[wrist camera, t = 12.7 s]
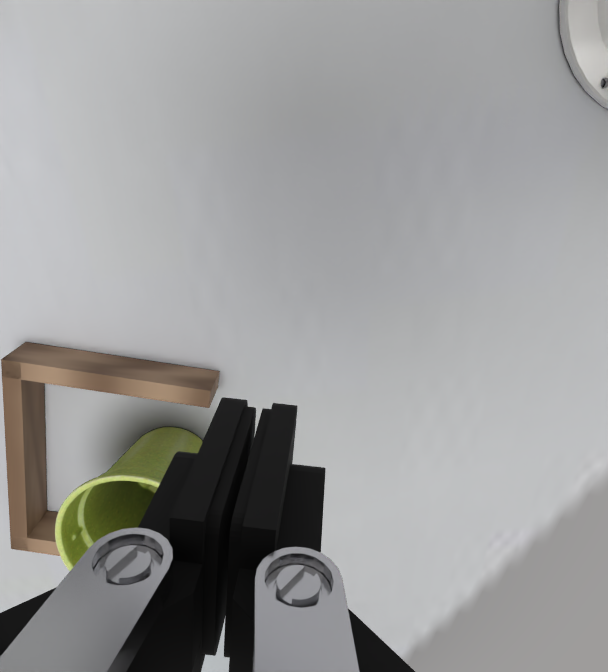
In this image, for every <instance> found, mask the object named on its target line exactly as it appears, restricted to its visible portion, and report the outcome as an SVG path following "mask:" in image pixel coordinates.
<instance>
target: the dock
mask: <svg viewBox="0 0 608 672" xmlns="http://www.w3.org/2000/svg"><path fill="white" fill-rule="evenodd" d="M1 364H2V383H3V402H4V421H5V441H6V460H7V479H8V498H9V517H10V536H11V549H16V550H23V551H30V552H37V553H44V554H50V555H57V556H60V553H59V551H58V548H57V545H56V539H55V524H56V518H57V515H58V512H52V511H47V482H46V438H45V393H44V383H47V384H54V385H61V386H67V387H74V388H81V389H87V390H94V391H100V392H107V393H114V394H120V395H127V396H134V397H140V398H147V399H154V400H160V401H167V402H174V403H180V404H187V405H194V406H200V407H207V408H209V407H210V405H211V402H212V400H213V398H214V395H215V393H216V390H217V388H218V382H219V372H220V371H214V370H207V369H201V368H194V367H188V366H181V365H174V364H168V363H161V362H155V361H148V360H141V359H135V358H128V357H121V356H115V355H108V354H102V353H95V352H88V351H82V350H75V349H69V348H62V347H55V346H49V345H42V344H35V343H29V342H25V343H24V344H22V345H21V346H19V347H18V348H17V349H15V350H14V351H12V352H11V353H10V354H8V355H7V356H5V357H4V358H3V359H1Z"/></svg>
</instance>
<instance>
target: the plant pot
mask: <svg viewBox="0 0 608 672" xmlns="http://www.w3.org/2000/svg"><path fill="white" fill-rule="evenodd" d="M201 445H202V440H201V439H200V438H199V437H198V436H196V435H195V434H193V433H191V432H189V431H187V430H184V429H181V428H175V427H162V428H158V429H155V430H153V431H151V432H149V433H147V434H145V435H143V436H142V437H141V438H140V439H139V440H138V441H137V442H136V443H135V444H134V445H133V446H132V447H131V448H130V449H129V450H128V451H127V452H126V453H125V454H124V455H123V456H122V457H121V458H120V459H119V460H118V461H117V462H116V463H115V464H114V465H113V466H112V467H111V468H110V469H109V470H108V471H107V472H106V473H104V474H102V475H100V476H99V477H97V478H94V479H92V480H89V481H87V482H85V483H84V484H82V485H81V486H79V487H78V488H76V489H75V490H74V491H73V492H72V493H71V494H70V495H69V496H68V497H67V498H66V500H65V501H64V502H63V504H62V506H61V507H60V510H59V512H58V515H57V518H56V524H55V539H56V545H57V548H58V551H59V553H60V556H61V558H62V560H63V562H64V564H65V565H66V567H67V568H68V569H69V571H71V569H72V568H73V567H74V566H75V565H76V563H77V562H78V561H79V560H80V558H81V557H82V556H83V555H84V554H85V552H86V551H87V550H88V549H89V548H90V547H91V546H92V545H93V544H94V543H95V542H96V541H97V540H98V539H100V538H102V537H104V536H105V535H107V534H109V533H112V532H115V531H118V530H121V529H128V528H138V526H139V524H140V522H141V520H142V518H143V516H144V514H145V512H146V510H147V508H148V506H149V504H150V502H151V500H152V498H153V496H154V494H155V492H156V490H157V488H158V486H159V484H160V482H161V480H162V479H163V477H164V475H165V473H166V471H167V469H168V467H169V465H170V463H171V461H172V459H173V457H174V455H175V454H176V452H178V451H181V452H190V453H198V452H199V449H200V447H201Z"/></svg>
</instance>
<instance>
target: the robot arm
mask: <svg viewBox="0 0 608 672" xmlns="http://www.w3.org/2000/svg"><path fill="white" fill-rule="evenodd" d="M559 17H560V34H561V39H562V43H563V48H564V53H565V56H566V58H567V60H568V63H569V65H570V67H571V70H572V72H573V74H574V76H575V77H576V79H577V80H578V81H579V83H580V84H581V86H582V87H583V88H584V90H585V91H586V92H587V93H588V94H589V95H590V96H591V97H592V98H593V99H595V100H596V101H597V102H598V103H599V104H600V105H601V106H603V107H605V108H607V109H608V0H560V3H559ZM602 78H603V79H605V81H606V84H605V86H604V87H603V88H601V80H602ZM296 417H297V406H295V405H286V404H277V403H273V405H272V409H263V410H262V413H261V416H260V420H259V423H258V427H257V431H256V434H255V418H256V408H254V407H248V404H247V400H241V399H232V398H222V399H221V401H220V403H219V406H218V408H217V410H216V413H215V415H214V417H213V419H212V422H211V424H210V426H209V429H208V431H207V433H206V435H205V438H204V440H203V442H202V445H201V447H200V449H199V452H198V453H190V452H181V451H178V452H176V454H175V455H174V457H173V459H172V461H171V463H170V465H169V467H168V469H167V471H166V473H165V475H164V477H163V479H162V480H161V482H160V484H159V486H158V488H157V490H156V492H155V494H154V496H153V498H152V500H151V502H150V504H149V506H148V508H147V510H146V512H145V514H144V516H143V518H142V520H141V522H140V524H139V526H138V528H128V529H121V530H118V531H115V532H112V533H109V534H107V535H105V536H104V537H102V538H100V539H98V540H97V541H96V542H95V543H94V544H93V545H92V546H91V547H90V548H89V549H88V550H87V551H86V552H85V554H84V555H83V556H82V557H81V558H80V560H79V561H78V562H77V563H76V565H75V566H74V567H73V568H72V569H71V571H70V572H69V573H68V574H67V576H66V577H65V578H64V579H63V580H62V582H61V583H60V584H59V585H58V587H56V588H54V589H52V590H50V591H48V592H46V593H43V594H41V595H39V596H37V597H35V598H32V599H30V600H28V601H26V602H24V603H21V604H19V605H17V606H15V607H13V608H11V609H8V610H6V611H4V612H2V613H0V672H201V669H202V665H203V661H204V657H205V654H206V655H214V656H215V655H216V652H217V648H218V644H219V640H220V636H221V631H222V627H223V623H224V619H225V615H226V619H225V641H224V657H230V662H229V672H415V671H414V670H413V669H412V668H410V666H409V665H407V664H406V663H405V662H404V661H403V660H402V659H401V658H400V657H399V656H398V655H397V654H396V653H395V652H394V651H393V650H392V649H391V648H389V647H388V646H387V645H386V644H385V643H384V642H383V641H382V640H381V639H380V638H379V637H378V636H377V635H376V634H375V633H374V632H373V631H372V630H370V629H369V628H368V627H367V626H366V625H365V624H364V623H363V622H362V621H361V620H360V619H359V618H358V617H357V616H356V615H355V614H354V613H352V612H351V611H350V610H349V609H348V606H347V601H346V595H345V590H344V584H343V579H342V576H341V574H340V571H339V569H338V567H337V566H336V565H335V564H334V562H333V561H332V560H331V559H329V558H328V557H327V556H325V555H324V554H322V553H321V536H322V518H323V501H324V484H325V468H321V467H312V466H304V465H295V464H292V460H293V449H294V438H295V428H296ZM254 434H255V438H254Z"/></svg>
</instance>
